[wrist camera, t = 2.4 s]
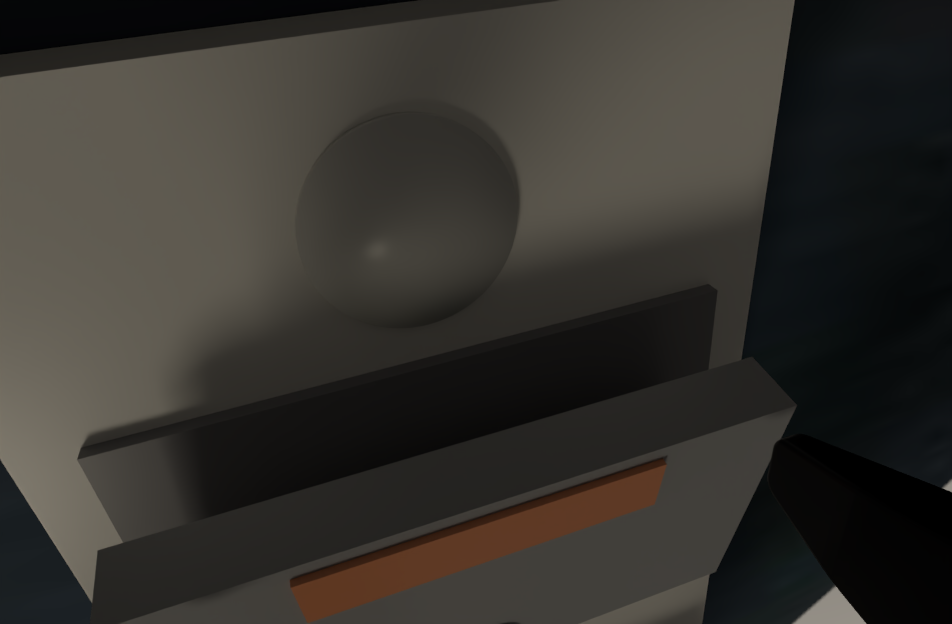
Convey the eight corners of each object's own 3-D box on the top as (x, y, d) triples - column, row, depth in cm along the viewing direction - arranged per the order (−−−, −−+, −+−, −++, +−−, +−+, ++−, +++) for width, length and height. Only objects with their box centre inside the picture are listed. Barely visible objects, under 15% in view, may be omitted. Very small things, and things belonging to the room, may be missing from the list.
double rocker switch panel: (635, 733, 28) (678, 817, 26) (318, 870, 25) (328, 982, 22) (690, -36, 13) (812, -32, 10) (-107, 68, 10) (-241, 113, 7)
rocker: (686, 526, 16) (718, 577, 15) (220, 693, 13) (223, 765, 12) (752, 357, 12) (801, 410, 11) (98, 550, 9) (88, 642, 8)
